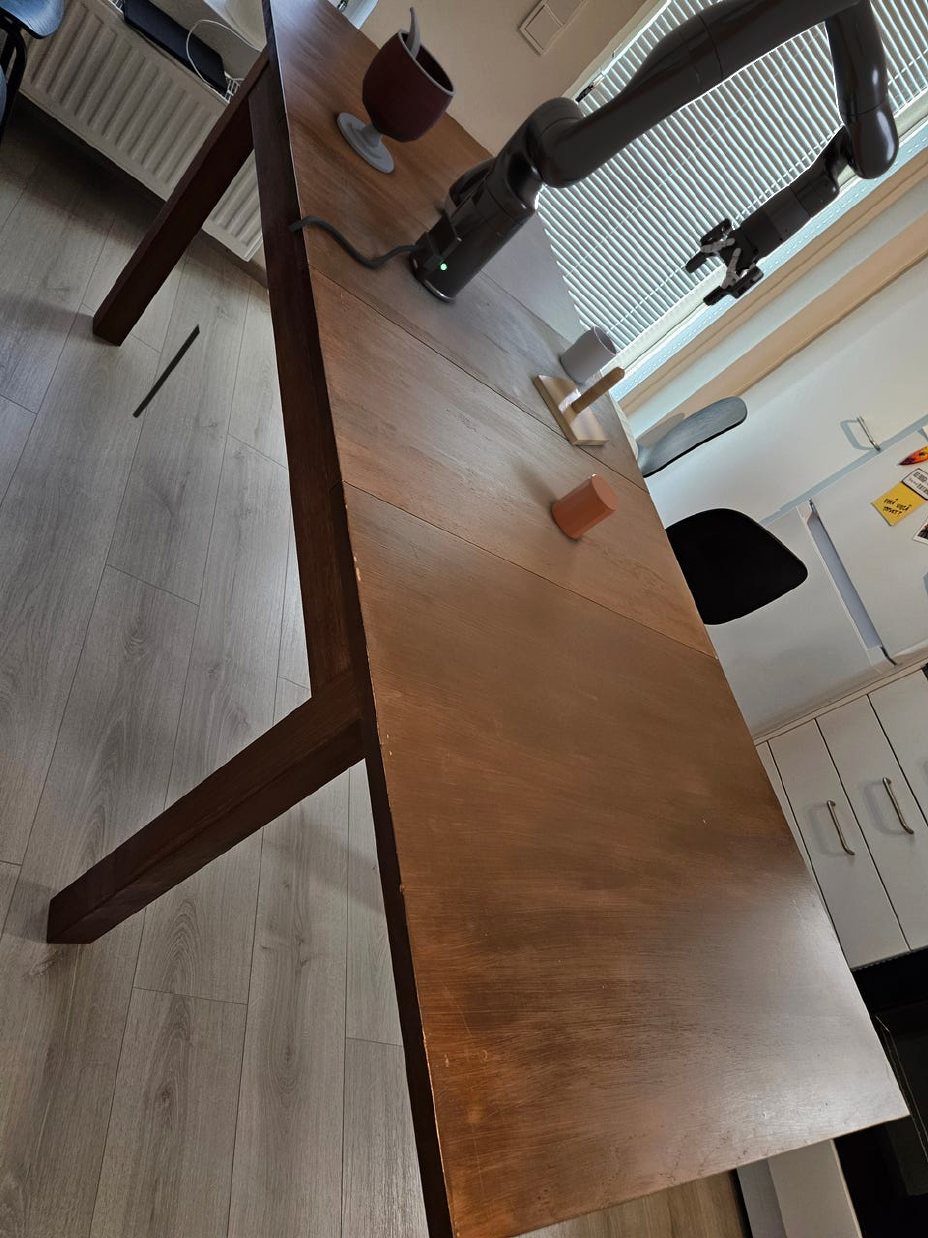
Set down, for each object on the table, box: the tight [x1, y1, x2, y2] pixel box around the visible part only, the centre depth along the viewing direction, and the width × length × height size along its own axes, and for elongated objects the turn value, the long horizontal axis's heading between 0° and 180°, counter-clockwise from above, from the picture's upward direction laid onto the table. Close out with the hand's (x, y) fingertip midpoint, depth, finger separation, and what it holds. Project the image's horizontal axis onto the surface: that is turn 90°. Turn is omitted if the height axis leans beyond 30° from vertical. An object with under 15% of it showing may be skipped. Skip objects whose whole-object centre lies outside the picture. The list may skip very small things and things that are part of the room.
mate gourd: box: [336, 6, 457, 174], centre depth 137 cm, size 16×14×20 cm
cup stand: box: [532, 365, 626, 446], centre depth 145 cm, size 14×14×13 cm
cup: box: [560, 325, 618, 384], centre depth 160 cm, size 7×10×9 cm
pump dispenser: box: [443, 155, 497, 214], centre depth 152 cm, size 10×10×15 cm
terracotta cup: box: [551, 474, 620, 540], centre depth 122 cm, size 6×6×8 cm
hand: (696, 286), depth 147 cm, fingers open, 8 cm apart
